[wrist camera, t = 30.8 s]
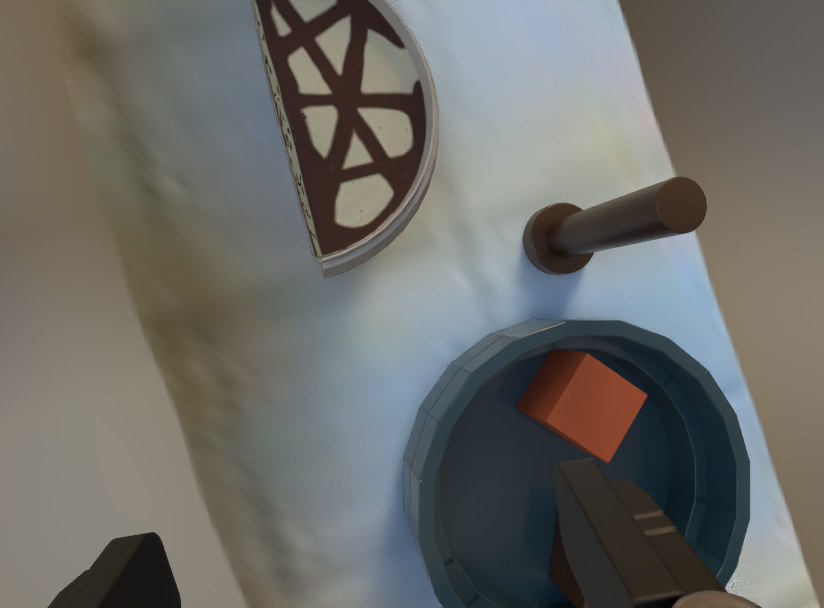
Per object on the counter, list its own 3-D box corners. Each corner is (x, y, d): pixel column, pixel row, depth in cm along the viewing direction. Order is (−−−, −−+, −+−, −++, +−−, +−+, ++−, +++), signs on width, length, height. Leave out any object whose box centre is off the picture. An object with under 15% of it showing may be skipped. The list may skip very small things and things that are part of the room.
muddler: (522, 205, 31) (634, 150, 20) (586, 207, 32) (726, 155, 21) (523, 274, 31) (635, 256, 20) (587, 275, 32) (728, 257, 21)
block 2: (558, 505, 31) (594, 534, 27) (621, 511, 31) (666, 540, 27) (547, 576, 30) (583, 616, 27) (612, 581, 31) (655, 620, 27)
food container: (428, 260, 30) (485, 236, 20) (320, 287, 29) (325, 275, 19) (373, 42, 30) (404, -90, 20) (261, 61, 29) (235, -68, 19)
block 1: (551, 347, 31) (587, 352, 27) (606, 384, 31) (648, 395, 27) (515, 407, 30) (546, 421, 26) (570, 444, 31) (609, 463, 27)
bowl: (360, 375, 29) (370, 388, 24) (639, 280, 33) (697, 276, 28) (454, 673, 30) (482, 744, 25) (718, 553, 33) (788, 595, 28)
